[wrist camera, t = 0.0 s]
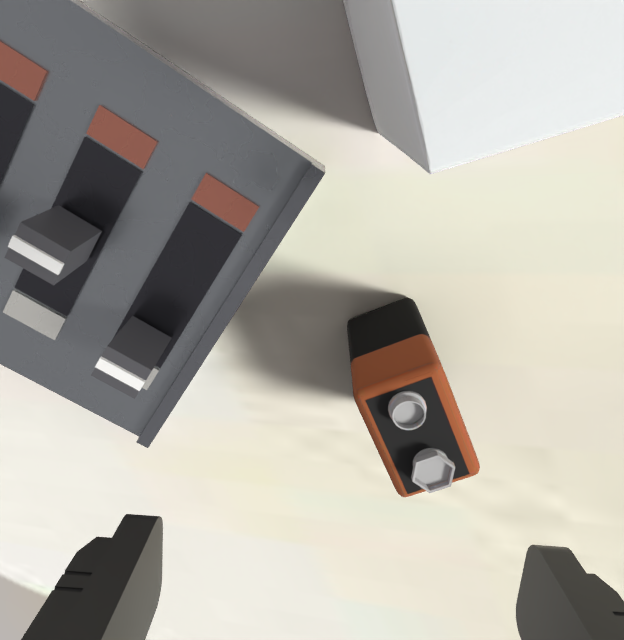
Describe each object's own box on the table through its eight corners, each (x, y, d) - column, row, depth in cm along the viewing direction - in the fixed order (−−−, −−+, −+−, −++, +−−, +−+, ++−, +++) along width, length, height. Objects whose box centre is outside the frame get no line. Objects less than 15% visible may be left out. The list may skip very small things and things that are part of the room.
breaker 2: (132, 315, 32) (105, 347, 28) (171, 337, 32) (150, 372, 28) (117, 342, 32) (89, 377, 28) (156, 363, 33) (133, 401, 29)
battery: (382, 407, 37) (402, 516, 27) (343, 318, 34) (351, 404, 25) (447, 385, 36) (489, 488, 27) (411, 292, 33) (444, 371, 24)
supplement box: (375, 139, 30) (419, 185, 16) (328, -48, 27) (334, -189, 13) (546, 86, 29) (748, 86, 15) (518, -117, 26) (745, -351, 12)
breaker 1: (58, 205, 29) (18, 223, 25) (101, 231, 30) (68, 252, 26) (43, 236, 30) (2, 258, 26) (86, 261, 30) (51, 286, 27)
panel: (-4, -56, 27) (-36, -70, 25) (324, 166, 31) (325, 173, 28) (-123, 275, 34) (-158, 289, 31) (159, 424, 37) (147, 448, 35)
